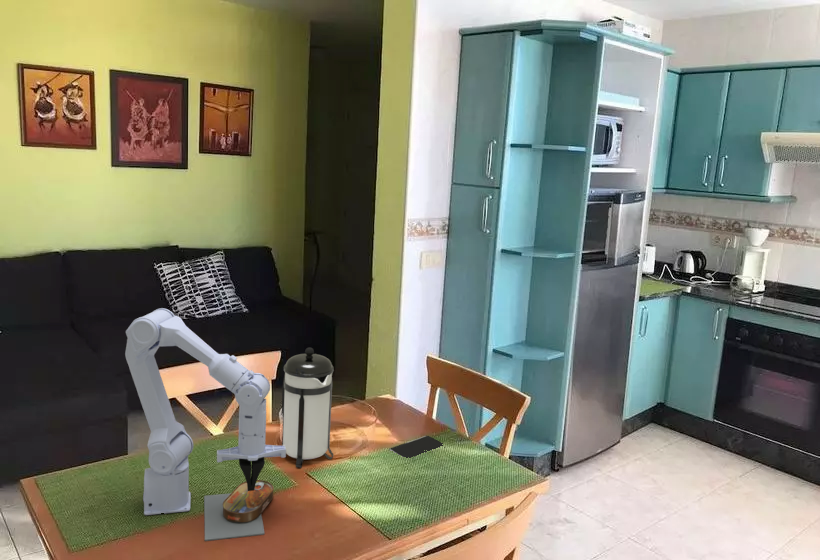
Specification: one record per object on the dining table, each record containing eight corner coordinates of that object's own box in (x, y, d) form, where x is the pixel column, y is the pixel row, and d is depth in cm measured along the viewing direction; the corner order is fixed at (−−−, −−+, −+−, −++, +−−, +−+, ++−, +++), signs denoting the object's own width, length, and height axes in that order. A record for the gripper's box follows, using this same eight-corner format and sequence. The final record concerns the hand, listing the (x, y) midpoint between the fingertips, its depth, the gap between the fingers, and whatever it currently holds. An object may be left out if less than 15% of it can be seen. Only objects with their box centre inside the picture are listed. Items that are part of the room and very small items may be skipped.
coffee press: (341, 446, 182) (346, 342, 176) (323, 472, 166) (328, 359, 161) (281, 438, 184) (285, 335, 179) (259, 462, 169) (262, 351, 164)
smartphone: (388, 448, 181) (427, 434, 191) (388, 452, 181) (426, 438, 191) (408, 459, 175) (446, 444, 185) (407, 463, 176) (446, 448, 186)
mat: (204, 541, 134) (204, 539, 134) (204, 496, 151) (204, 495, 151) (264, 534, 138) (264, 533, 138) (257, 492, 155) (257, 490, 154)
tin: (252, 515, 139) (215, 506, 141) (250, 529, 140) (214, 519, 141) (279, 482, 154) (246, 475, 155) (278, 495, 154) (245, 487, 156)
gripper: (217, 440, 136) (216, 500, 138) (288, 436, 140) (286, 494, 143) (217, 427, 143) (216, 484, 145) (284, 423, 147) (282, 479, 149)
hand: (250, 488), depth 144 cm, fingers closed
